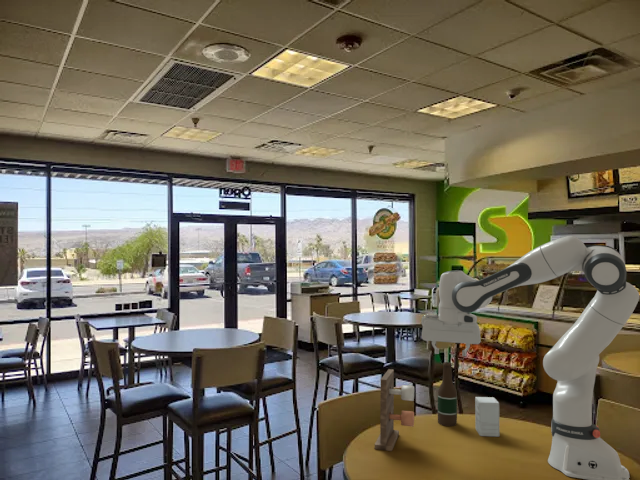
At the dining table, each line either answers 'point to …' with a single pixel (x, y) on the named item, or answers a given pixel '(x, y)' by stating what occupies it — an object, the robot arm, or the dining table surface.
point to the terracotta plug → (404, 418)
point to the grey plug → (404, 392)
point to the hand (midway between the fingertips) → (450, 354)
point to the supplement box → (487, 416)
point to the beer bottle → (447, 398)
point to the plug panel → (387, 414)
